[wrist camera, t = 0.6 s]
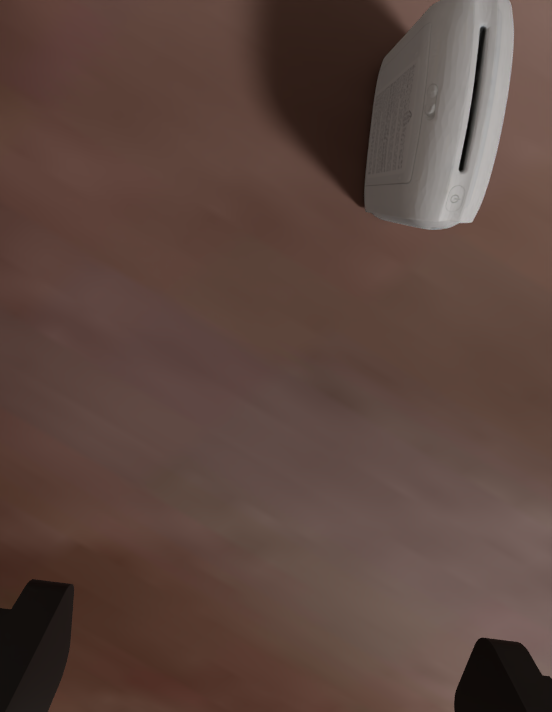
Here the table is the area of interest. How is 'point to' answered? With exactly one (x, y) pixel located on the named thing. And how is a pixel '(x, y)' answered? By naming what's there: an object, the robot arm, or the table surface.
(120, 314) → the table surface
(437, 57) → the photo printer
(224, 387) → the table surface
